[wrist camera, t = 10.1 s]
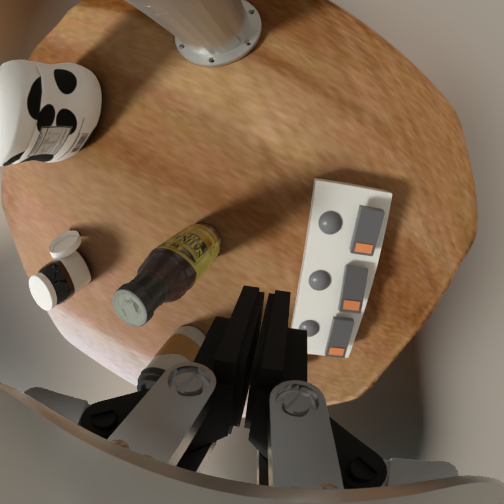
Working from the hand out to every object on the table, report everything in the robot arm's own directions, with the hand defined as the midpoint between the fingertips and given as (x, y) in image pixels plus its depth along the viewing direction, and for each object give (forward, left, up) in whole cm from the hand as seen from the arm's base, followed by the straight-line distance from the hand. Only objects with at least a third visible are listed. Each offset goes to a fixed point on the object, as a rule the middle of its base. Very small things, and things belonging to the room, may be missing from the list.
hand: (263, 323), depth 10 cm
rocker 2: (+2, +10, -24) cm, 26 cm away
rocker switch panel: (+10, +8, -29) cm, 32 cm away
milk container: (-13, -38, -29) cm, 50 cm away
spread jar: (+15, -39, -29) cm, 51 cm away
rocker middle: (+10, +10, -24) cm, 28 cm away
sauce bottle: (+8, -12, -29) cm, 33 cm away
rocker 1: (+18, +10, -24) cm, 32 cm away
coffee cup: (+27, -14, -29) cm, 42 cm away
